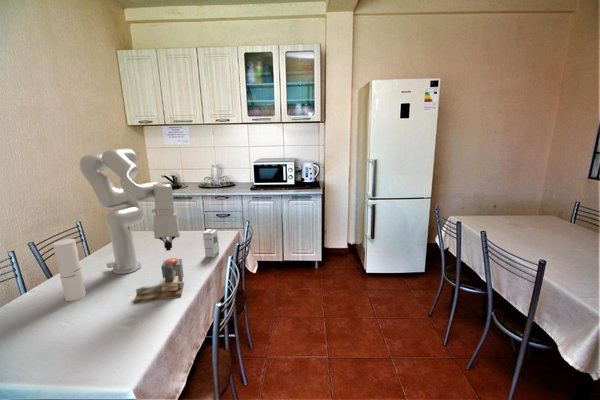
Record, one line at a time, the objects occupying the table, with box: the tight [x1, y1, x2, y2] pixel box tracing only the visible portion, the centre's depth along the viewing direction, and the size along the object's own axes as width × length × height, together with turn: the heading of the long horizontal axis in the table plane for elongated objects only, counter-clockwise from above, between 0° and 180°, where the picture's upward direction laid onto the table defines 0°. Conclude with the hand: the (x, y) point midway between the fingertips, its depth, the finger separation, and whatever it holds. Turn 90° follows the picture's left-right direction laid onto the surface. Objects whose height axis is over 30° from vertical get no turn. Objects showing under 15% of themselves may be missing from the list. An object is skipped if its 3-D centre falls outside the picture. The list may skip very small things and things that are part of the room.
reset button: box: [164, 257, 178, 264], centre depth 138 cm, size 5×5×6 cm
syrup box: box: [202, 228, 220, 258], centre depth 165 cm, size 6×6×14 cm
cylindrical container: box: [52, 238, 87, 302], centre depth 124 cm, size 7×7×25 cm
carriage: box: [160, 264, 179, 292], centre depth 127 cm, size 6×6×10 cm
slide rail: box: [133, 281, 185, 304], centre depth 127 cm, size 18×10×4 cm, turn 105°
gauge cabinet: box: [160, 258, 185, 282], centre depth 138 cm, size 8×6×9 cm
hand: (168, 249), depth 136 cm, fingers closed
